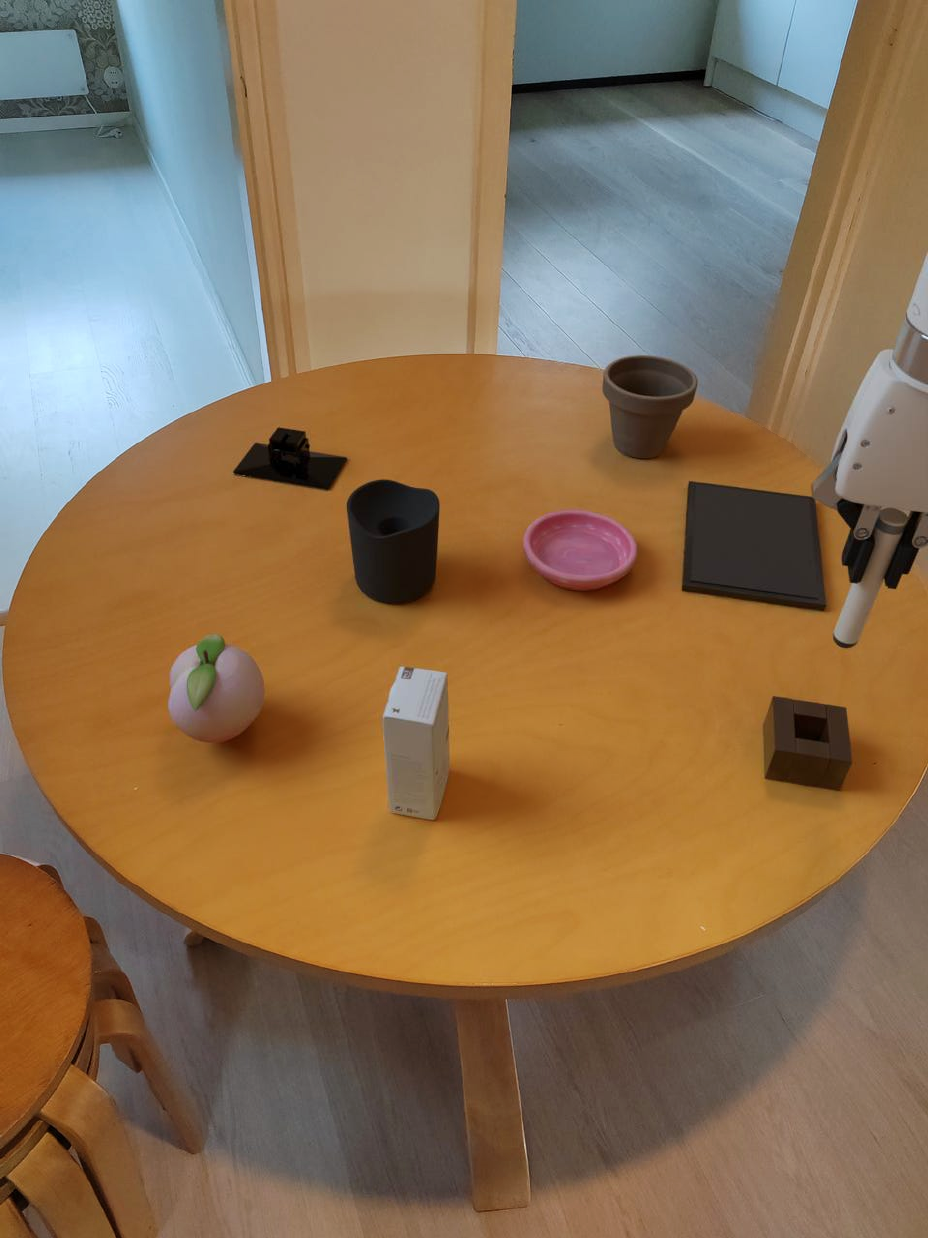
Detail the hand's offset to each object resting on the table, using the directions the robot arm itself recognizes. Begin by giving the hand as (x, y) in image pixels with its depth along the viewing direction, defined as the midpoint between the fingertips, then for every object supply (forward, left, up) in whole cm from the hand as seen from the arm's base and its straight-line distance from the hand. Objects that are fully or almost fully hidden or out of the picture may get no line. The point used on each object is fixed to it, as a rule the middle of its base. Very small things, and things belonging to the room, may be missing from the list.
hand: (870, 573), depth 75 cm
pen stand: (0, 0, -22) cm, 22 cm away
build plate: (+60, -34, -22) cm, 72 cm away
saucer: (+23, -23, -22) cm, 39 cm away
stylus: (0, 0, -8) cm, 8 cm away
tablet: (+4, -31, -22) cm, 38 cm away
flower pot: (+18, -49, -22) cm, 57 cm away
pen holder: (+42, -16, -22) cm, 50 cm away
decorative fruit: (+52, +8, -22) cm, 57 cm away
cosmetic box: (+33, +11, -22) cm, 41 cm away
